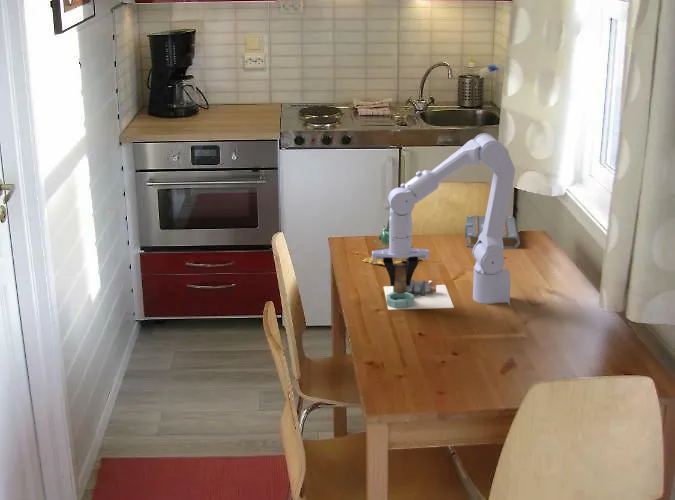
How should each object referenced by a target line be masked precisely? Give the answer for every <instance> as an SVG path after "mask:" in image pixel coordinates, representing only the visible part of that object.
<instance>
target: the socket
mask: <svg viewBox="0 0 675 500" xmlns="http://www.w3.org/2000/svg"><path fill="white" fill-rule="evenodd" d="M413 304H414V296H413V294H411V293H407V292H405V293H395V292H392V293H390V294H388V295H387V302H386V306H387V305H388V306H390V307H393V308H408V307H411V306H412V305H413ZM388 306H387V307H388Z"/></svg>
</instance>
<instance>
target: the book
mask: <svg viewBox="0 0 675 500" xmlns="http://www.w3.org/2000/svg"><path fill="white" fill-rule="evenodd" d="M485 216H486V215H477V214H476V215H466V223H465V229H464V230H465V231H464V232H465V235H464V236H465V239H466V248H473V247H474V245H475V244H476V243H477V241H478V238H479V235H480V234H481V233H482V231H483V226H484V221H485ZM517 223H518V222H517V219H516V218H515V217H514V216H506V220H505V225H504V230H503V235H502V240H503V247H504V249H511V250H513V249H515V250H516V249H518V248H519V246H520V244H521V239H520V234H519V229H518V224H517Z"/></svg>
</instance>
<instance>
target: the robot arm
mask: <svg viewBox="0 0 675 500" xmlns="http://www.w3.org/2000/svg"><path fill="white" fill-rule="evenodd" d="M480 161H481V162H482V163H483V164H484V165H486V166H487V167H488V168H489V169H490V171H491V172H492V173H493V175H492V180H491V185H490V192H489V195H488V201H487V207H486V212H485V215H484V216H485V221H484V226H483V231H482V233H481V234H480V235H479V238H478V241H477V243H476V244H475V245H474V247H472V251H471V252H472V256H473V258H474V260H475V264H474V265H473V285H472V299H473V301H474V302H476V303H479V304H485V305H491V304H499V303H507V304H508V305H509V306H511V303H510V301H511V280H512V279H511V274H510V273H511V272H510V269H508V268H504V266H505V258H504V249H505V248H504V247H503V240H502V235H503V230H504V225H505V220H506V217H507V214H508V209H509V204H510V200H511V195H512V194H511V193H512V188H513V184H514V179H515V175H516V169H515V166H514V163H513V161H512V159H511V156H510V151H509V150H508V149H507V147H505V146H504V145H503V143H501V142H500V141H498V140H497V139H496V138H495V137H494V136H493V135H492V134H489V133H487V132H486V133H485V132H482V133H479V134H478V135H476V136H475V137H474V138H472V139H470V140H468V141H467V142H466V143H465V144H463V145H462V147H460V148H459V149H457V150H456V151H455V152H454V153H453V154H451V155H449V156H448V158H446V159H445V160H443V161H442V162H441V163H440V164H438V165H437V166H436V167H434V168H433V169H432V170H427V169H424V170H422V171H420V170H418V171H417V172H416V173H415V176H414V177H412V178H411V179H409V180H408V181H407V182H406V183H404V182H402V183H401V184H400V187H395V188H393V189H392V190H390V192H389V194H388V195H387V197H386V200H387V203H388V205H389V206H390V207H389V218H388V219H389V246H388V248H384V249H381V250H380V249H377V250H372V251H371V257H372V260H377V259H383V262H384V265H383V266H384V267H385V269H386V271H387V274H388V277H389V283H390V286H394V279H393V267H394V264H393V259H405V258H407V261H406V264H407V286H410V282H411V280H412V277H413V276H414V273H415V271H416V269H417V267H418V264H419V261H418V258H421V259H425V260H428V259H430V251H429V249H428V248H427V249H425V248H424V249H423V248H414V247H413V245H412V241H413V239H412V237H413V236H412V232H413V226H412V225H413V220H412V219H413V217H412V212H413V210H414V208H415V205H416V204H418V203H419V202H421V201H422V200H423V199H425V198H426V197H428V196H429V195H431V194H432V193H434V192H435V191H436V190H438V189H439V185H440V182H441V181H443V180H445V179H446V178H447V177H449V176H451V175H452V174H454V173H455V172H457V171H459V170H460V169H462V168H463V167H465V166H466V165H470V166H480V165H481V163H480Z"/></svg>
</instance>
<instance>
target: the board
mask: <svg viewBox="0 0 675 500" xmlns="http://www.w3.org/2000/svg"><path fill="white" fill-rule="evenodd" d="M425 281H426V280H420V282H421V292H416V293H414V294H413V296H414V304H413V305H412V306H411V307H408V308H393V307H390V306H388V305H387V304H386V306H387V310H388V311H390V310H393V311H394V310H421V309H424V310H425V309H426V310H427V309H454V308H455V307H454V304H453V302H452V299H451V296H450V293H449V291H448V288H447V286H446V284H436V292H425ZM383 291H384V296H385V301H386V303H387V295H388V294H390V293H392V292H394V291H393V286H391V285H390V286H388V285H385V286H383Z"/></svg>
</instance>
